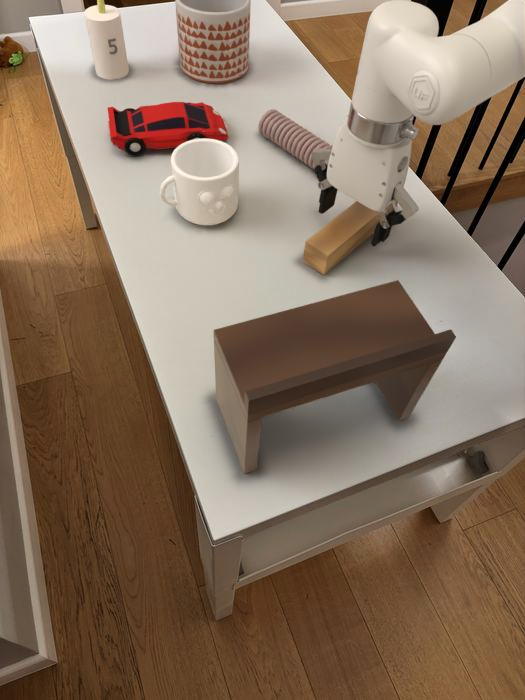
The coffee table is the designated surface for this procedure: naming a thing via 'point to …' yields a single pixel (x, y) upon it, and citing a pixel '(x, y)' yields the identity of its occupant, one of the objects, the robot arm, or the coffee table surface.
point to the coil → (291, 136)
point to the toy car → (164, 126)
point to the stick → (340, 237)
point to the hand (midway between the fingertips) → (351, 224)
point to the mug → (204, 181)
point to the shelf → (323, 359)
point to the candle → (106, 41)
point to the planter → (213, 38)
